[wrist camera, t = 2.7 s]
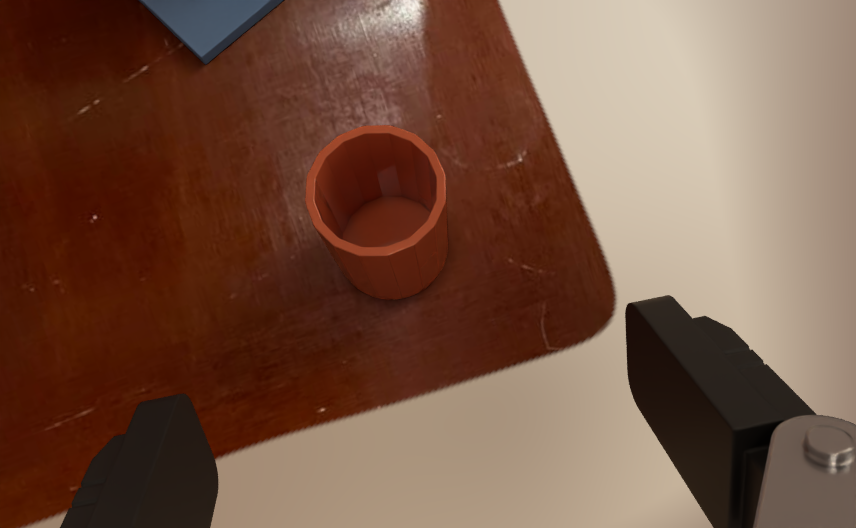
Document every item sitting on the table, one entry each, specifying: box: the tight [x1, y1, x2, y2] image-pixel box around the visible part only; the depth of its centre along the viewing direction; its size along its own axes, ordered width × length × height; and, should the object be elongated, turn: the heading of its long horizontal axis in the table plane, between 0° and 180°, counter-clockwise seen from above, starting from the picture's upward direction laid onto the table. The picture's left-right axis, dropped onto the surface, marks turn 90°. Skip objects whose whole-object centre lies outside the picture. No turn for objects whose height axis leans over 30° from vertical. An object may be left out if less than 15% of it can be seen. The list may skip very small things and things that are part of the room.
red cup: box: [305, 125, 448, 300], centre depth 33 cm, size 6×6×8 cm
